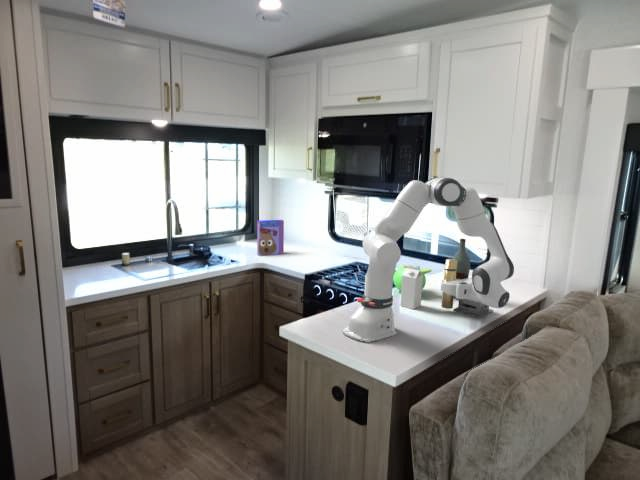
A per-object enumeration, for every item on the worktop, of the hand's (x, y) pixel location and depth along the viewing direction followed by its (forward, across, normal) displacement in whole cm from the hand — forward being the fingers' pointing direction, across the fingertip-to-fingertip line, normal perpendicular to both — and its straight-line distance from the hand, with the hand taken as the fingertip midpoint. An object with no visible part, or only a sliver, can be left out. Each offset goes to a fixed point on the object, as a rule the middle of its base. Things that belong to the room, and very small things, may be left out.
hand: (448, 280), depth 199 cm
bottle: (+11, -21, +14) cm, 28 cm away
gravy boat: (+29, -5, +15) cm, 33 cm away
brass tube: (-1, 0, +12) cm, 12 cm away
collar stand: (-7, -11, +14) cm, 19 cm away
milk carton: (+13, +9, +15) cm, 22 cm away
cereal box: (+138, +24, +16) cm, 141 cm away
